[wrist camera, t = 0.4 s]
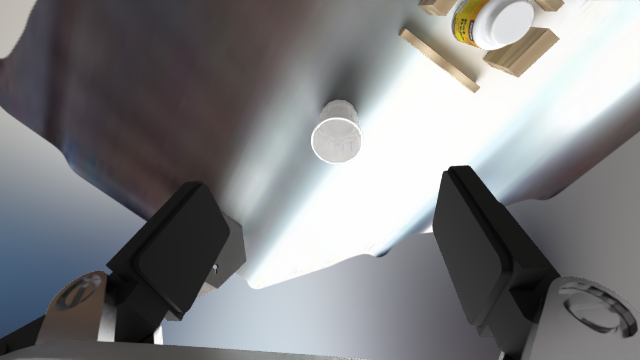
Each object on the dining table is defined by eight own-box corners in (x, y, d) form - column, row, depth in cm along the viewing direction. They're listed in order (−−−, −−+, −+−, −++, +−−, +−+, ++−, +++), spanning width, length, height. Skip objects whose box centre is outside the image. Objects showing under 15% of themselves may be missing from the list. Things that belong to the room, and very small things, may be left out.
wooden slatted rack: (398, 34, 34) (408, 39, 29) (474, -78, 27) (507, -100, 22) (469, 89, 38) (490, 103, 32) (553, 3, 31) (599, 2, 25)
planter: (161, 213, 57) (158, 305, 48) (176, 199, 53) (176, 295, 44) (224, 218, 70) (231, 291, 61) (239, 208, 66) (249, 283, 57)
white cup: (352, 89, 40) (354, 109, 32) (365, 129, 44) (369, 156, 36) (311, 104, 42) (302, 127, 34) (326, 141, 46) (322, 169, 38)
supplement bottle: (443, 16, 33) (475, 18, 24) (486, -17, 30) (537, -26, 22) (458, 51, 35) (492, 64, 27) (499, 23, 32) (550, 28, 24)
